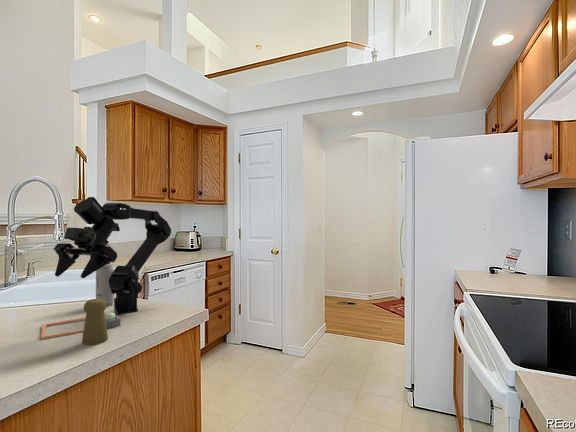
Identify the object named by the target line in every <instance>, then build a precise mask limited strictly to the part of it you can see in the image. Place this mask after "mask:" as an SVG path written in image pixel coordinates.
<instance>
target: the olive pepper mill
mask: <svg viewBox="0 0 576 432" xmlns="http://www.w3.org/2000/svg"><path fill="white" fill-rule="evenodd" d="M107 307H108V306H107V303H106V301H105V300H104V299H96V298H93V299H89V300H87V301H85V303H84V305H83V311H84V313H86V314H85V317H86V319H85V320H84V324H83V325H84V326H83V329H84V332H82V340H81V345H84V346H94V345H95V346H96V345H99V344H103V343H105V342H107V341H108V339H109V334H108V328H107V327H106V320H105V314H106V313H105V311H106V310H107Z"/></svg>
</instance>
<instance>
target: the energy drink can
mask: <svg viewBox="0 0 576 432" xmlns="http://www.w3.org/2000/svg"><path fill="white" fill-rule="evenodd" d="M114 270H115V267H114V266H113V263H110V264H107V265H105V266H103V267H101V268H100V269H98V270H96V271H95V299H104V300H105V301H106V303H107V306H106V307H109V306H112V305H114V298H115V294H112V293H111V289H110V286H109V278H110V276H111V275H110V274H111V273H112V272H113V271H114Z"/></svg>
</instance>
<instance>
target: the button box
mask: <svg viewBox="0 0 576 432" xmlns="http://www.w3.org/2000/svg"><path fill="white" fill-rule="evenodd" d="M120 326H121V318H120V316H119V314H117V315H116V314H115V319H114V320H108V321H106V327H107V329H109V328H117V327H120Z"/></svg>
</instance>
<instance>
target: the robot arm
mask: <svg viewBox="0 0 576 432" xmlns="http://www.w3.org/2000/svg"><path fill="white" fill-rule="evenodd" d="M73 211H74V212H75V213H76V215H77V216H79V218H81V220H83V221H84V222H85V224H87V225H92V226H84V227H83V228H82V227H67V228H66V230H65V233H64V236H63V239H65V240H70V241H73V244H74V245H75V246H74V245H72V244H71V243H69V242H67V243H66V242H62V243H61V242H60V243H57V244H56V245H55V246H54V247H53V251H55V254H57V255H58V256H57V257H58V261H57V265H56V269H55V273H54V276H55V277H58V278H59V277H60V276H62V274H64V273H65V272H66V271H67V270H68V269H69V268H71V267H72V266H73V265H74V264H75V263H76V262H77V261H76V260H78V259H79V258H80V256H90V257H89V258H90V259H89V260H88V262H87V264H86V266H85V267H84V269H83V270H82V272H81V274H80V278H82V279H85V278H87V277H89V276H91V275H92V274H93V273H94V272H95V273H96V270H98V269H100V268H101V267H103V266H105V265H107V264H111V263H115V262H116V260H117V258H118V253H117V251H116V250H115V249H113V247H112V246H110V245H109V243H110V241H109V240H108V239H109V238H110V236H111V234H113V232H120V231H121V228H120V226H119V223H118V222H115V221H121V220H122V221H123V220H129V219H133V220H134V219H135V220H143V221H144V228H145V230H146V233H145V234H146V238H145V239H144V241H143V242H142V244H141V245H140V246H139V248H138V249H137V250H136V252H135V253H134V254H133V255H132V256H131V258H130V259H129V260H128V262H127V263H126V264H125V265H117V266H115V267H114V271H113V272H112V273H111V274H110V275H111V276H110V278H109V286H110V289H111V293H112V294H114V295H115V297H114V302H113V310H114V312H115V313H116V314H117V315H119V314H124V313H131V312H137V311H139V308H138V294H140V293H141V292H142V289H143V286H142V284H141V283H140V282H139V278H140V275H139V273H140V271H141V269H142V268H143V267H144V265H145V263H146V262H147V260H149V257H151V255H152V254H153V252H154V251H155V250H156V248H157V247H158V246H159V245H160V244H162V243H164V242H166V240H168V239H169V238H170V236H171V235H172V227H171V226H170V224H169V223H168V221H167V220H166V219H164V217H162V216H161V214H160V212H159V211H157V210H155V209H154V210H153V209H152V210H150V209H143V208H134V207H132V206H130V204H127V203H123V202H105V203H104V204H103V205H101V204H100V203H99V202H98V200H97V199H96V197H95V196H88V197H87V198H86V199H83V200H82V201H80V202H78V203H77V204H75V206H74V207H73ZM152 221H154V222H155V224H154V223H152ZM76 246H77V247H76Z"/></svg>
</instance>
